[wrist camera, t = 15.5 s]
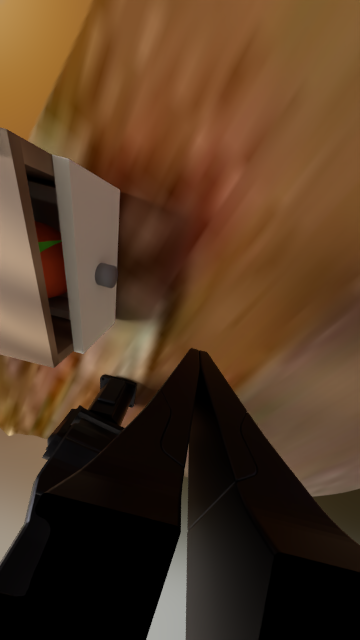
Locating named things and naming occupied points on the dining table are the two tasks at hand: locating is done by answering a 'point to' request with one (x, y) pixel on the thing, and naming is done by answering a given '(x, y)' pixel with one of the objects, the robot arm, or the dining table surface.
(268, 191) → the dining table surface
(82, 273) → the drawer
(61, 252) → the clementine
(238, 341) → the dining table surface
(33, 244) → the small brown cabinet
